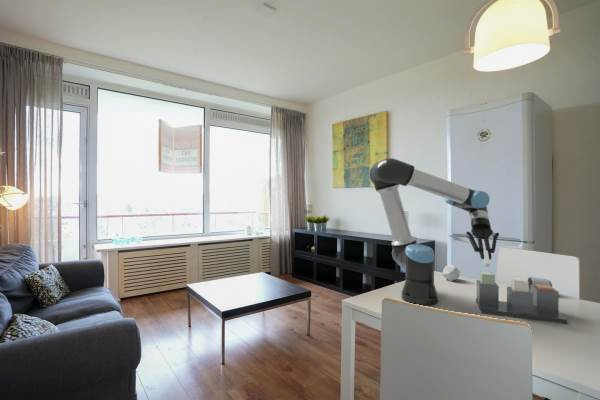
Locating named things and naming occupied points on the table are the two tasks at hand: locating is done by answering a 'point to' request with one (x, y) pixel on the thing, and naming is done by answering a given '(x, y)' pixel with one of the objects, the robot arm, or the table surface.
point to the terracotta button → (544, 287)
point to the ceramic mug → (538, 282)
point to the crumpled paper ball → (451, 273)
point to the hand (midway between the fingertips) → (487, 265)
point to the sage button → (487, 278)
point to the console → (520, 303)
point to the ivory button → (519, 284)
